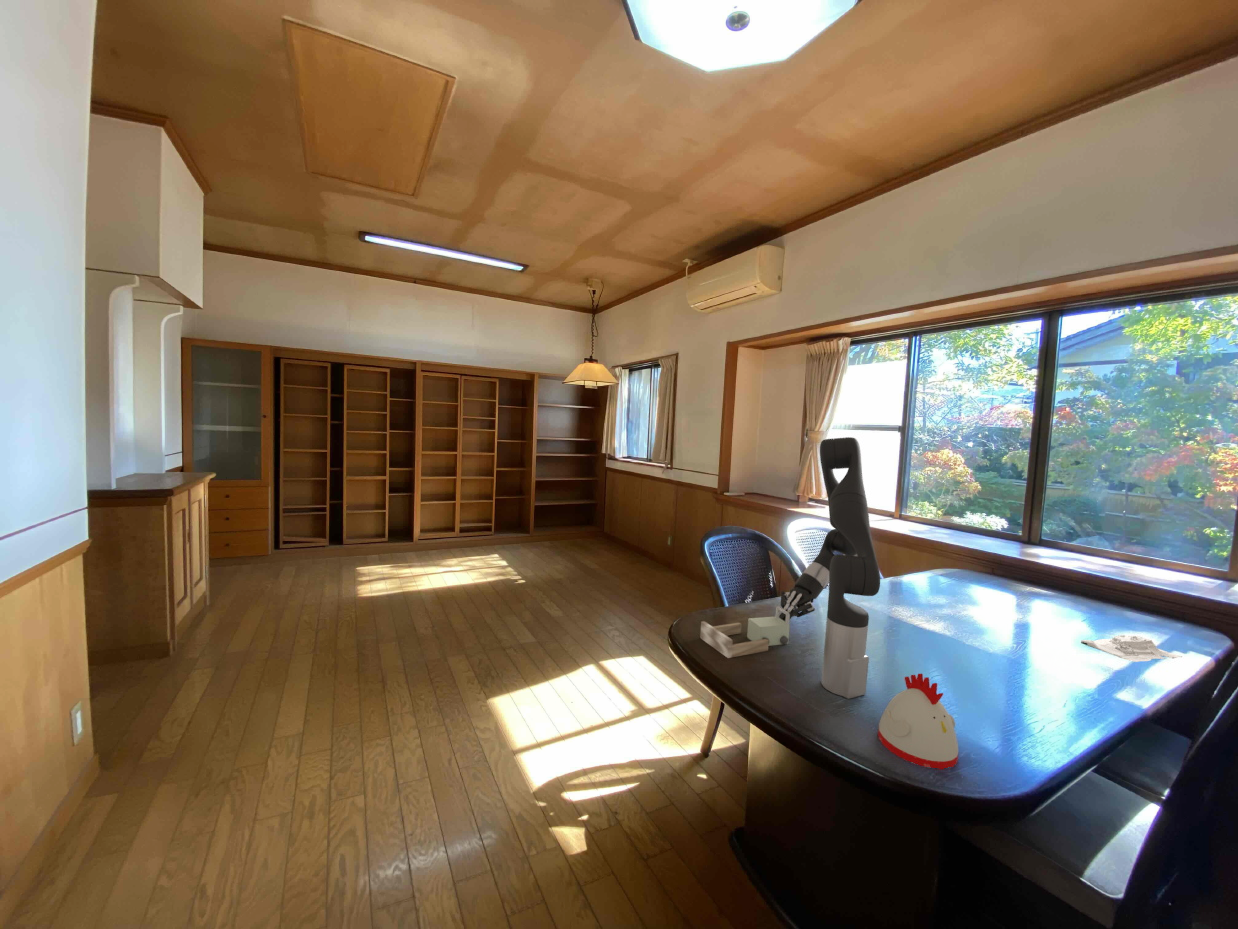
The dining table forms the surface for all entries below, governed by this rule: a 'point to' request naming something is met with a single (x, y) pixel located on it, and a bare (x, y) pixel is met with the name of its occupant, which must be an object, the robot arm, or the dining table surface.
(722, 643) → the birch bay
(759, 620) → the sage trolley
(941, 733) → the kitchen timer
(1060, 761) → the dining table surface
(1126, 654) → the terrain model
